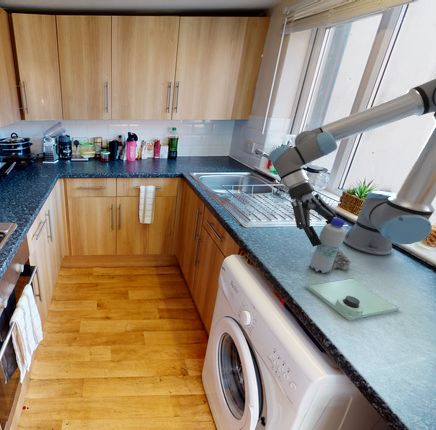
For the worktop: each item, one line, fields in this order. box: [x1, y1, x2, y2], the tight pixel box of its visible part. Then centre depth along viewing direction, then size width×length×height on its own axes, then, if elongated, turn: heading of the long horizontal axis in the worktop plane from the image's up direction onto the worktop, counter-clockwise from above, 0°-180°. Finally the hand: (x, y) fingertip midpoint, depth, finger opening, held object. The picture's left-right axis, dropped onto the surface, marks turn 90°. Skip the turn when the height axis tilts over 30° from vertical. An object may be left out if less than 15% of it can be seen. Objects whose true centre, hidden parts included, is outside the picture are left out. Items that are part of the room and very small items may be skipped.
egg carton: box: [331, 249, 353, 271], centre depth 106 cm, size 11×8×4 cm
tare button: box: [344, 296, 360, 308], centre depth 81 cm, size 3×3×2 cm
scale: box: [307, 278, 400, 321], centre depth 87 cm, size 18×14×3 cm
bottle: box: [309, 217, 347, 274], centre depth 98 cm, size 7×7×20 cm
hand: (328, 240), depth 97 cm, fingers open, 13 cm apart
